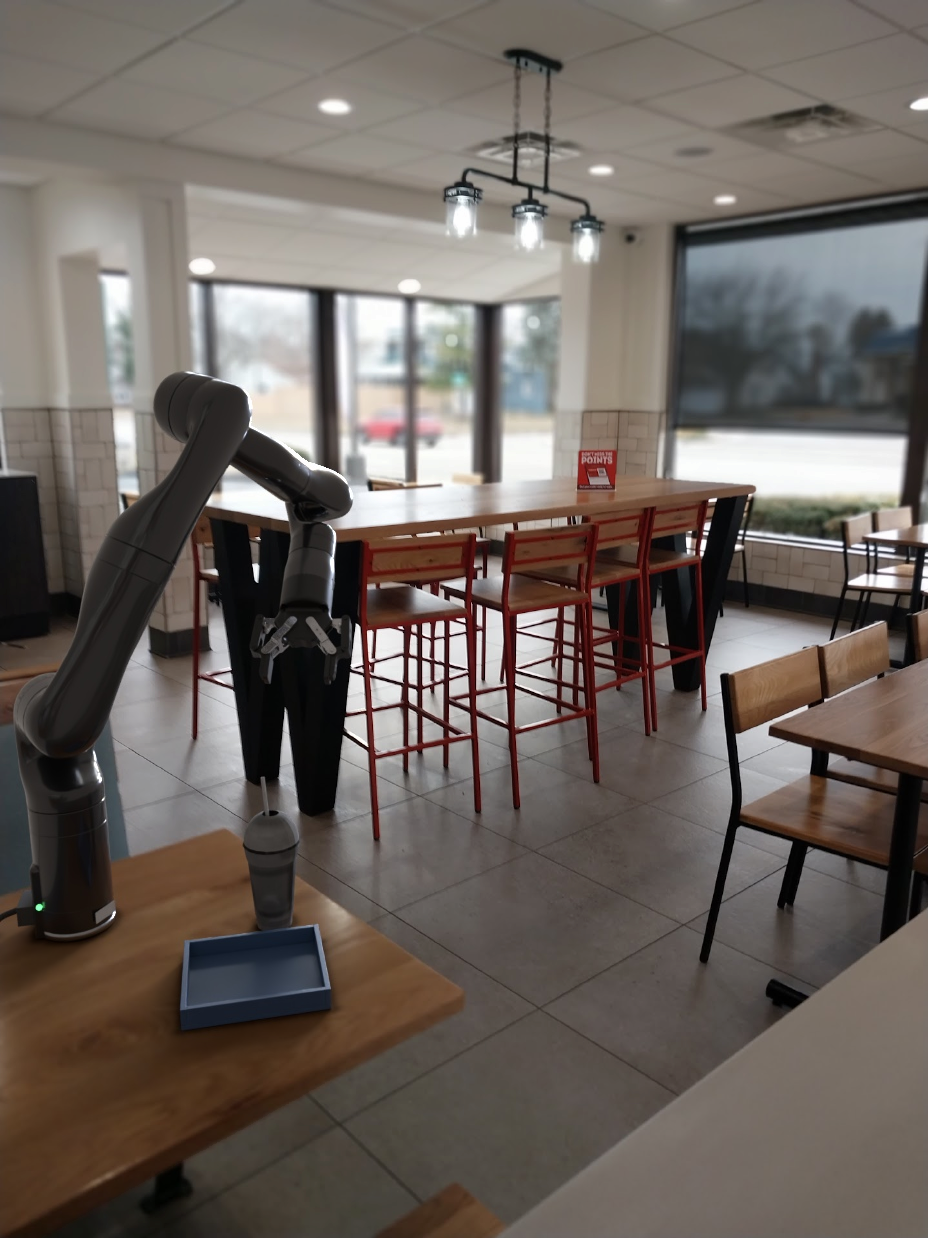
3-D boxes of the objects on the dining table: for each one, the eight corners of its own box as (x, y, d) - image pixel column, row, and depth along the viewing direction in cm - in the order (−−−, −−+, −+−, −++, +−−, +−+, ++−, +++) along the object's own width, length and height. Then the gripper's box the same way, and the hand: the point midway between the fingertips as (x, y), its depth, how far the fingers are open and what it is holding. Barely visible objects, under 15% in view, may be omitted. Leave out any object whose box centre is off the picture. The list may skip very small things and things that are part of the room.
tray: (181, 1031, 102) (179, 1010, 102) (185, 959, 116) (184, 940, 115) (331, 1009, 106) (330, 989, 106) (318, 942, 120) (318, 924, 119)
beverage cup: (272, 944, 119) (266, 795, 115) (234, 925, 123) (227, 781, 119) (314, 920, 125) (310, 777, 121) (277, 903, 129) (271, 764, 125)
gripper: (255, 571, 138) (240, 668, 130) (353, 571, 138) (344, 669, 130) (265, 599, 145) (251, 693, 136) (358, 599, 145) (350, 694, 136)
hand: (296, 681), depth 133 cm, fingers open, 8 cm apart
